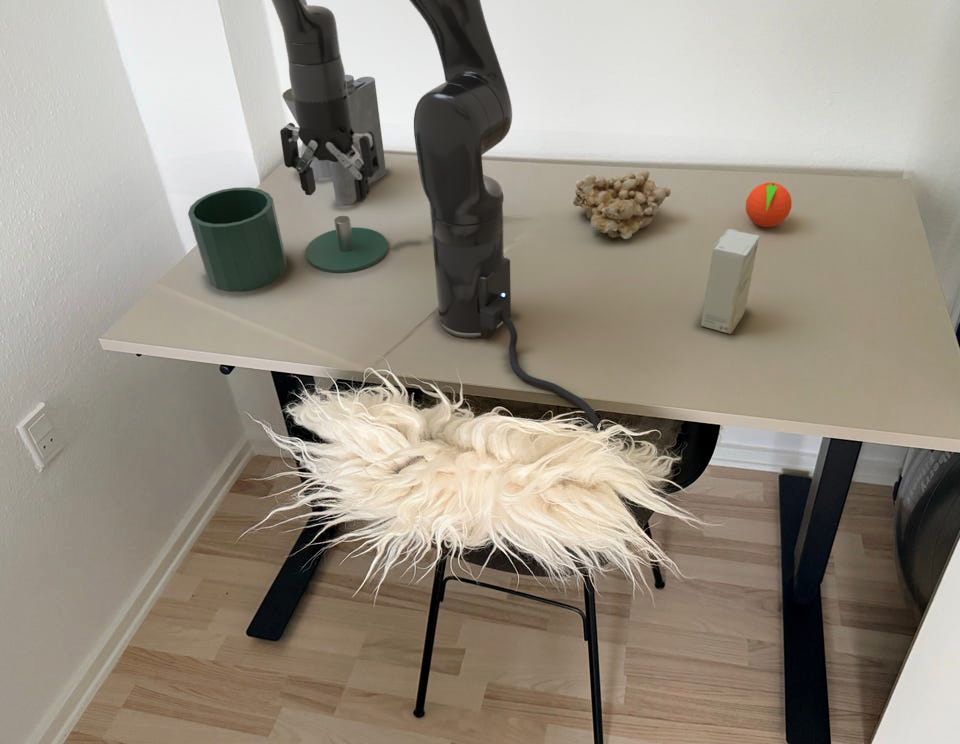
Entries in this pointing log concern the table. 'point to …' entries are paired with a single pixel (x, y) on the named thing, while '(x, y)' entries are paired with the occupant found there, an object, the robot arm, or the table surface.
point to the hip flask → (361, 122)
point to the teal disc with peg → (346, 248)
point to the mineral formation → (620, 202)
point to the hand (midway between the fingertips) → (336, 196)
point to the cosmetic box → (729, 280)
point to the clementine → (768, 204)
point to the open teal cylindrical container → (238, 238)
